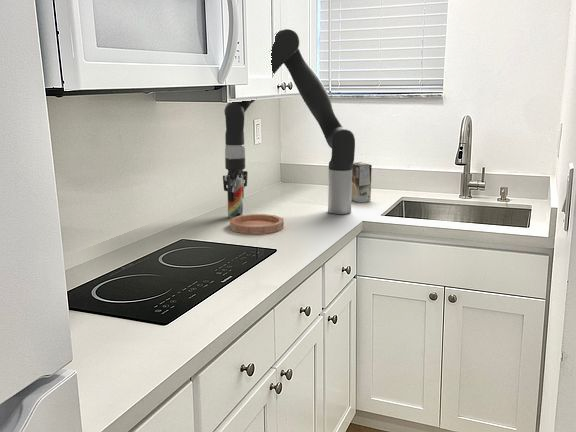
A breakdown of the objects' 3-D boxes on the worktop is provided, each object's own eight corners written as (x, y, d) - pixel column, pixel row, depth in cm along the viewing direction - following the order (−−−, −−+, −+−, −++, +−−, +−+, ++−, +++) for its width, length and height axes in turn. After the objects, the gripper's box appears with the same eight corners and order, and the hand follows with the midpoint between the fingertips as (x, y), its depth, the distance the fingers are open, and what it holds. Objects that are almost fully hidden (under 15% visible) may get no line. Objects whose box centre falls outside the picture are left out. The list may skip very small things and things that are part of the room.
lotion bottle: (235, 219, 218) (234, 166, 213) (224, 217, 221) (223, 165, 216) (245, 216, 222) (245, 165, 217) (235, 214, 225) (233, 163, 221)
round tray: (248, 218, 219) (248, 212, 218) (292, 224, 210) (292, 217, 210) (219, 230, 202) (219, 222, 202) (266, 236, 194) (266, 229, 193)
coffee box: (371, 201, 249) (372, 164, 245) (358, 202, 246) (359, 165, 243) (360, 197, 257) (361, 161, 253) (347, 198, 254) (348, 162, 251)
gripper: (237, 153, 224) (237, 195, 228) (215, 158, 212) (217, 202, 216) (253, 155, 221) (254, 197, 225) (233, 159, 208) (234, 204, 212)
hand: (235, 199), depth 220 cm, fingers open, 6 cm apart
